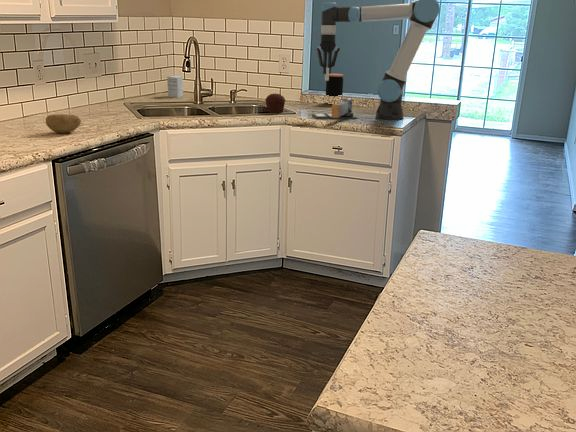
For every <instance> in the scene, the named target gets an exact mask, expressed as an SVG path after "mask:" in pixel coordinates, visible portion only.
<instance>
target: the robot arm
mask: <svg viewBox="0 0 576 432" xmlns="http://www.w3.org/2000/svg"><path fill="white" fill-rule="evenodd" d="M321 5H322V6H321V23H320V24H321V25H320V26H321V28H320V30H321V31H320V32H321V35H320V44H319V46H318V47H315V51H316V52H317V53H316V54H317V56H318V62H319V67H321V68H323V69H322V73H323V75H324V81H325V82H326V81H329V74H332V68H334V67H335V65H336V62H337V58H338V53H339V52H340V50H341V48H340V47H338V46H337V45H336V31H337V30H336V28H337V23H351V24H352V23H361V22H379V21H396V20H397V21H398V20H399V21H400V20H408V21H409V23H410V25H409V27H408V29H407V31H406V34H405V36H404V38H403V40H402V42H401V44H400V47H399V48H398V51H397V54H396V55H395V57H394V60H393V62H392V63H391V67H390V68H389V70H386V71H385V73H384V74H382V78H381V81H380V82H379V83H378V86H377V95H378V97H379V98H380V100H379V104H378V107H377V110H376V112H375V118H378V119H383V120H390V121H391V120H395V121H397V119H399V120H403V119H404V117H405V116H404V114H405V113H404V109H403V105H402V104H403V101H402V100H403V91H404V87H405V85H406V83H407V78H406V75H407V74H408V71H409V69H410V67H411V65H412V63H413V61H414V60H415V59H414V58H415V56H416V55H417V53H418V52H417V51H418V50H419V48H420V45H421V44H422V42H423V39H424V37H425V36H426V35H425V34H426V33H427V32H428V31H430V30H432V27H433V26H434V23H435V22H436V18H438V16H439V13H440V10H441V9H440V4H439V1H438V0H412V1H411V2H410V3H397V4H396V3H395V4H383V5H382V4H381V5H369V6H367V5H366V6H338V5H337V2H330V1H329V2H328V1H327V2H322V4H321ZM333 51H334V52H333ZM322 55H323V57H322Z"/></svg>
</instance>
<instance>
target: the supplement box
mask: <svg viewBox="0 0 576 432" xmlns="http://www.w3.org/2000/svg"><path fill="white" fill-rule="evenodd" d="M166 81H167V82H166V83H167V88H166V89H167V97H168V98H175V97H176V99H178V98H182V97H184V85H183V84H184V83H183V76H181V75H179V76H178V75H171V76H167V77H166Z"/></svg>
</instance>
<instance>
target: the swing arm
mask: <svg viewBox="0 0 576 432" xmlns="http://www.w3.org/2000/svg"><path fill="white" fill-rule="evenodd" d="M353 101H354V100H353V98H350V97H346V98H345V97H344V98H342V102H340V103H337V104H331V114H332V115H331V117H335V118H338V117H339V116H342V115H344V114H347V113H351V112H352V111H353Z"/></svg>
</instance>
